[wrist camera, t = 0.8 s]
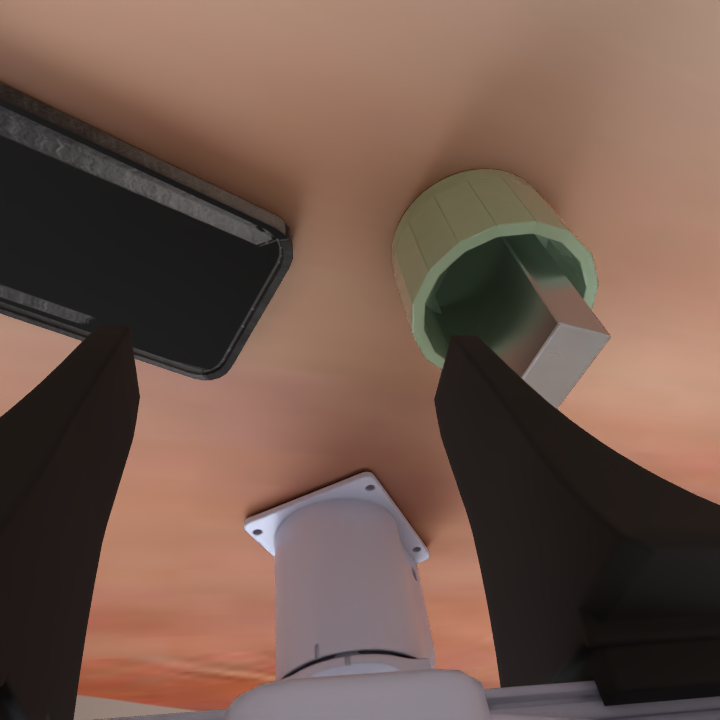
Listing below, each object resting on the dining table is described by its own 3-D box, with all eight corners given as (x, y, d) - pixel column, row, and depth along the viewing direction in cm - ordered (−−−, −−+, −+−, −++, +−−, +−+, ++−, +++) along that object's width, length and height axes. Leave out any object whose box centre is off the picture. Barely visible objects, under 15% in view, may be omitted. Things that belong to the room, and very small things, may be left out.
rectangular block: (525, 217, 22) (616, 337, 16) (475, 306, 25) (539, 439, 19) (481, 203, 22) (559, 322, 16) (434, 296, 24) (487, 429, 18)
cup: (564, 274, 25) (611, 337, 22) (424, 335, 26) (448, 403, 23) (527, 137, 21) (578, 187, 18) (365, 216, 22) (382, 277, 19)
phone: (-207, 1, 15) (304, 242, 21) (-182, -5, 16) (303, 228, 22) (-217, 243, 19) (218, 389, 25) (-196, 227, 20) (220, 372, 26)
